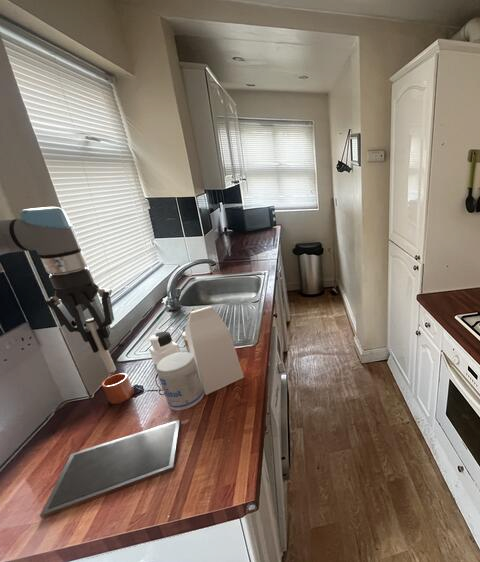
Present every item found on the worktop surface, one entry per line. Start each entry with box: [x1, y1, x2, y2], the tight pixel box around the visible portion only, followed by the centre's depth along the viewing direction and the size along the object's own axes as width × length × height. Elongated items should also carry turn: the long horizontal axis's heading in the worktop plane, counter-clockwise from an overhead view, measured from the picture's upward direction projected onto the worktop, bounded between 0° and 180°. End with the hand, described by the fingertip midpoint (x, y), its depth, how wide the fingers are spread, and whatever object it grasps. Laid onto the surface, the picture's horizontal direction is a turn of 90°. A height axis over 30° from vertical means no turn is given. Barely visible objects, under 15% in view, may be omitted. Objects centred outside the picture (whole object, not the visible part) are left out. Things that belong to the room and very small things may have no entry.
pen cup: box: [101, 372, 135, 404], centre depth 95 cm, size 6×6×7 cm
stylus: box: [85, 317, 117, 374], centre depth 86 cm, size 2×2×17 cm
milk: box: [184, 305, 245, 396], centre depth 99 cm, size 12×12×26 cm
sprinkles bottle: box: [181, 331, 190, 353], centre depth 109 cm, size 5×5×13 cm
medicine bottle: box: [148, 331, 181, 367], centre depth 110 cm, size 7×7×12 cm
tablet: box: [39, 419, 182, 520], centre depth 75 cm, size 24×16×1 cm, turn 115°
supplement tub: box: [156, 351, 205, 411], centre depth 92 cm, size 10×10×15 cm
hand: (102, 348), depth 86 cm, fingers closed on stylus, 2 cm apart
